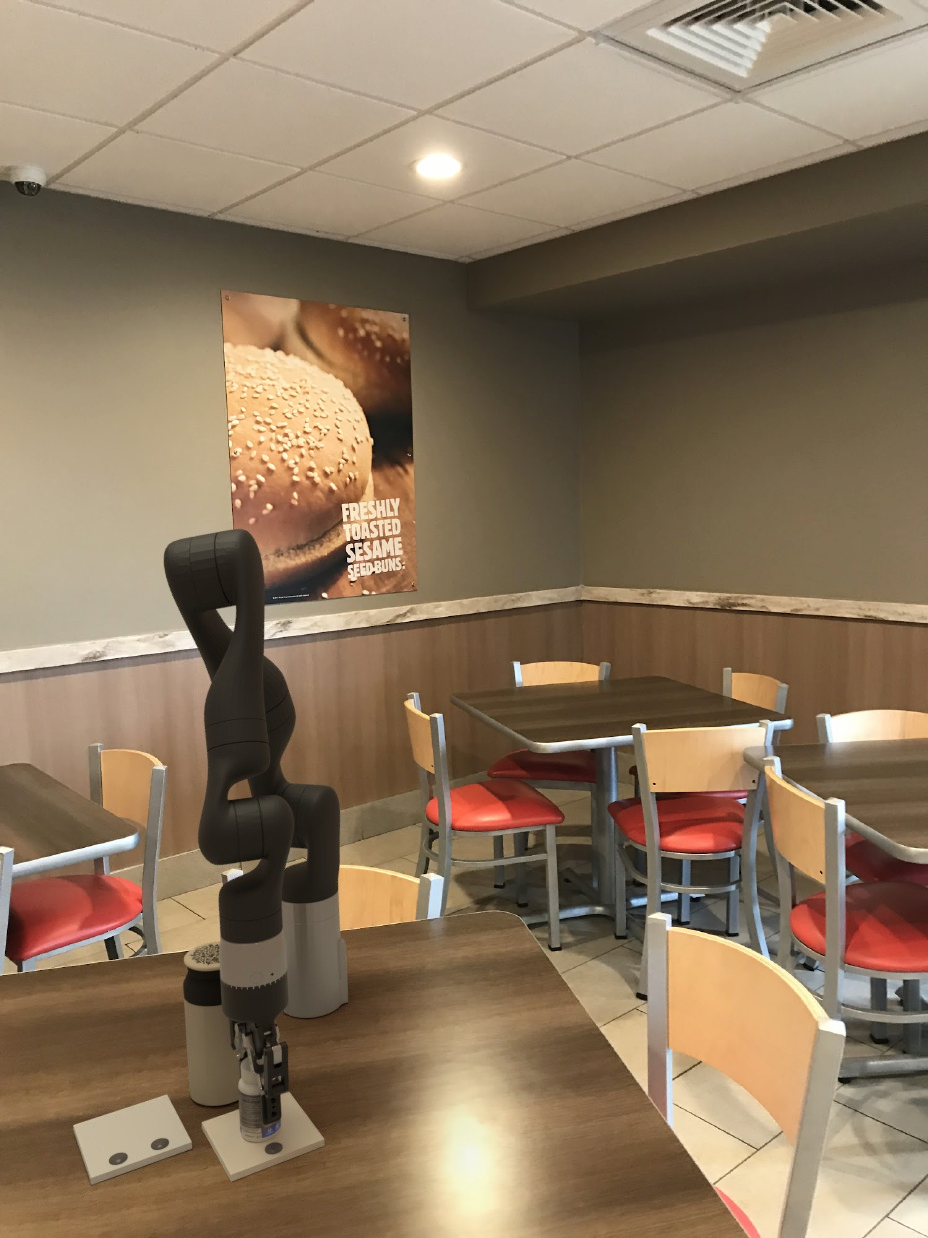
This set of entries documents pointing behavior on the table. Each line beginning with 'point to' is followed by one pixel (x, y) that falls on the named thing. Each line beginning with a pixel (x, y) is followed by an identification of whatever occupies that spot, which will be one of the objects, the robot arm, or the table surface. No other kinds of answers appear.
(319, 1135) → the one-dot pad
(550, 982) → the table surface
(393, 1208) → the table surface
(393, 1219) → the table surface
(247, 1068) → the pill bottle
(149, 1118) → the two-dot pad
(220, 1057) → the travel mug
